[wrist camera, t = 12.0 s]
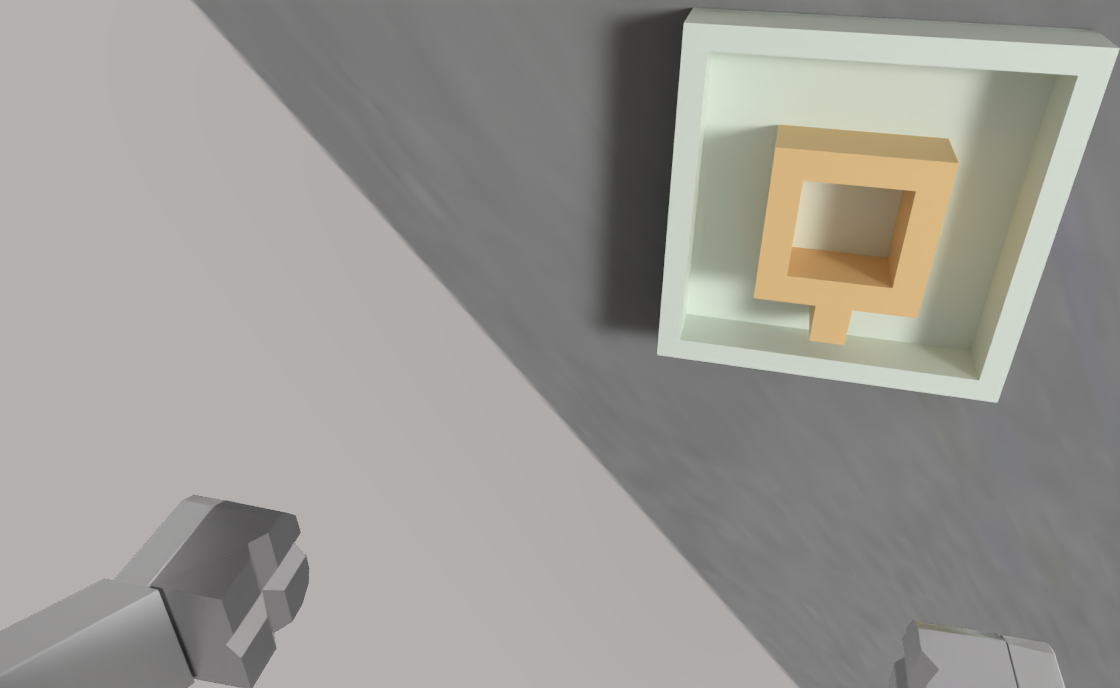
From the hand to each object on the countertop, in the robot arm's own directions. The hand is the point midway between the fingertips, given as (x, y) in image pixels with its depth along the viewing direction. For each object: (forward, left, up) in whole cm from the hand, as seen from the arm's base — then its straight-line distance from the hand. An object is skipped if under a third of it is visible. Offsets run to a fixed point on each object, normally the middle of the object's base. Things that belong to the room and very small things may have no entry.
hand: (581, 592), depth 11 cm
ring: (+3, +5, -22) cm, 22 cm away
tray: (+3, +5, -22) cm, 23 cm away
